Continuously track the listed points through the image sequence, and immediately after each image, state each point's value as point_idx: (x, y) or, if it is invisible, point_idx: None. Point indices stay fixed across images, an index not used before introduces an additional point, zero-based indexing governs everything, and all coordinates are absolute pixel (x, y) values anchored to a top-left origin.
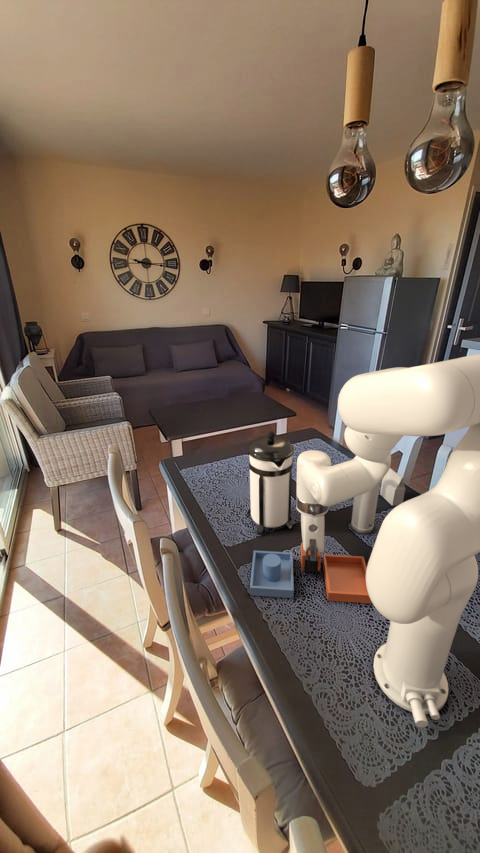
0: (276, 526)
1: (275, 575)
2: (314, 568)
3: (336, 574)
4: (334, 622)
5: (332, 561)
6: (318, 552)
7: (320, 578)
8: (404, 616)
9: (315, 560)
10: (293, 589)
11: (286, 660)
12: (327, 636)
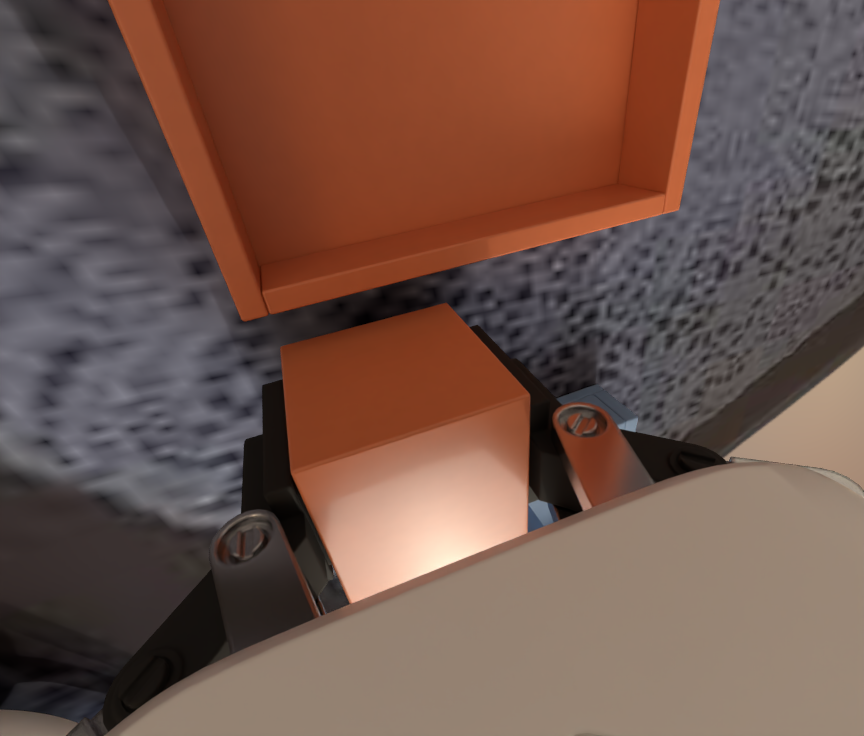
0: (57, 731)
1: (540, 522)
2: (525, 369)
3: (392, 135)
4: (750, 140)
5: (230, 190)
6: (473, 431)
7: (441, 271)
8: None
9: (852, 484)
10: (634, 420)
11: (824, 327)
12: (802, 178)
